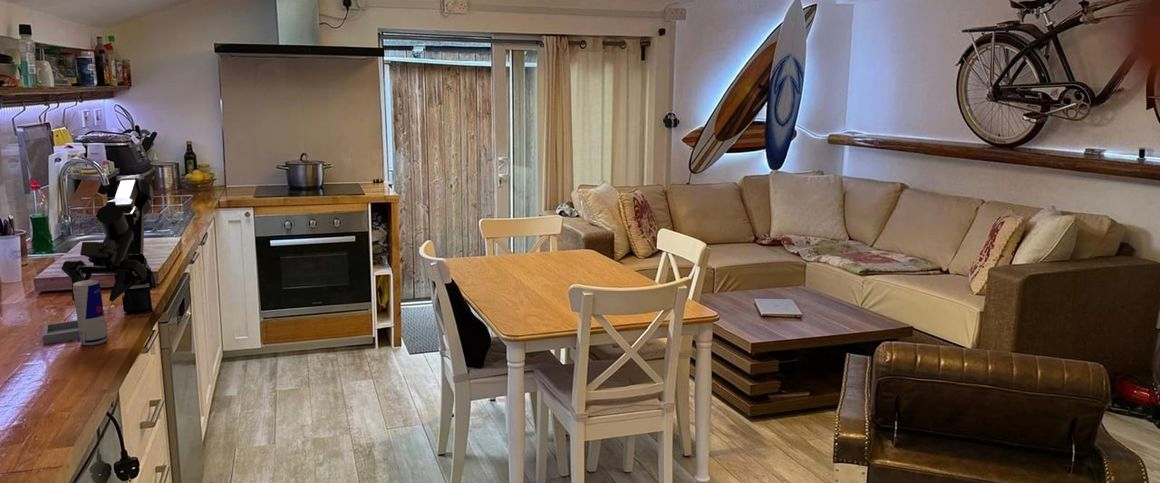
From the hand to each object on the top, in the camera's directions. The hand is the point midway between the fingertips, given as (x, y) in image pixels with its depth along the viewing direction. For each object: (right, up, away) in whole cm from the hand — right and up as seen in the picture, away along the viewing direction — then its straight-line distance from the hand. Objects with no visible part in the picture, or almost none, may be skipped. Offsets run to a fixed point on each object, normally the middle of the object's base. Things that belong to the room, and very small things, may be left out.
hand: (92, 300), depth 201 cm
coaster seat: (-10, -9, +8) cm, 15 cm away
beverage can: (0, -10, +1) cm, 10 cm away
